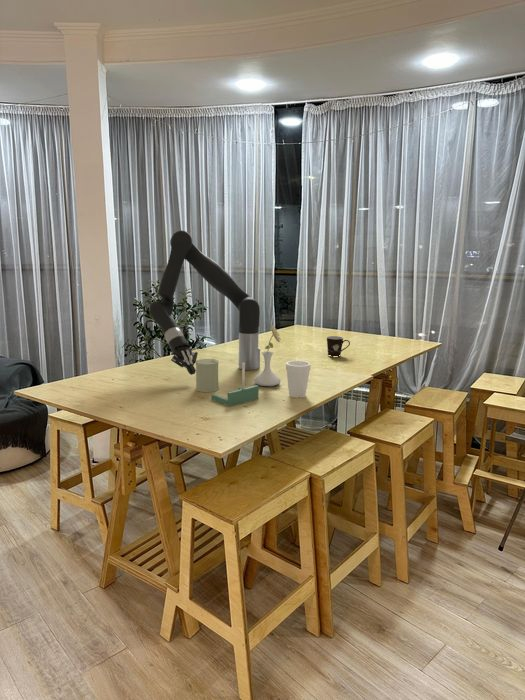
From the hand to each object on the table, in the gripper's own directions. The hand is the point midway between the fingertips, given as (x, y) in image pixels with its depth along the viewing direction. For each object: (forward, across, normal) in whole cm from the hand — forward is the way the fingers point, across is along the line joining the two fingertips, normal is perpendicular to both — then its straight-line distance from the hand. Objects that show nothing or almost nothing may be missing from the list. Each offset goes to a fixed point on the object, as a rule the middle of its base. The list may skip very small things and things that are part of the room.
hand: (193, 373), depth 208 cm
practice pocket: (+22, 0, -16) cm, 27 cm away
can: (+10, 0, -3) cm, 11 cm away
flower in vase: (+18, +24, -11) cm, 32 cm away
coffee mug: (+8, +87, -2) cm, 87 cm away
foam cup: (+31, +21, -25) cm, 45 cm away
